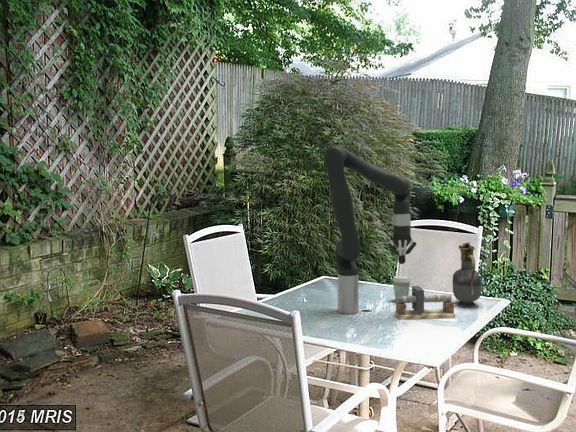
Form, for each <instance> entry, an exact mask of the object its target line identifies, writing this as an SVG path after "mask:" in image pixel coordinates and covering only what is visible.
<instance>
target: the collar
mask: <svg viewBox="0 0 576 432" xmlns="http://www.w3.org/2000/svg"><path fill="white" fill-rule="evenodd" d="M411 296H416V303H411V308H412V310H415V311H416V312H417V313H424V310H425V302H424V296H425V290H424V288H422V287H420V286H419V285H412V286H411Z"/></svg>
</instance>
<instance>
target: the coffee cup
mask: <svg viewBox="0 0 576 432" xmlns="http://www.w3.org/2000/svg"><path fill="white" fill-rule="evenodd" d="M392 282H393V290H394V291H393V292H394V299H395V300H394V301H395V303H396V302H398V296H410V295H409V293H410V285H411V278H410V276H408V275H394V276H393V278H392Z"/></svg>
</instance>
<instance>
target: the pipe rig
mask: <svg viewBox="0 0 576 432" xmlns="http://www.w3.org/2000/svg"><path fill="white" fill-rule="evenodd" d="M452 297H453V296H452V294H433V295H432V294H431V295H430V294H429V295H426V294H425V295H424V303H442V308H436V309H435V308H433V309H431V308H430V309H427V308H426V309H425V308H424V313H417V312H416V311H415V310H414V309H407V304H412V303H416V296H412V295H408V296H398V302H396V301H395V309H394V315H396V317H397V318H398V320H400V321H401V320H402V321H403V320H426V319H427V320H429V319H437V320H438V319H455V318H456V313H455V303H454V302H453V301H452Z"/></svg>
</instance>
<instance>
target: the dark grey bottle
mask: <svg viewBox="0 0 576 432" xmlns="http://www.w3.org/2000/svg"><path fill="white" fill-rule="evenodd" d="M470 243H471V241H469V242H463V243H462V244H461V245H458V247H457V248H458V250H460V263H461V265H460V266H461V267H460V269H457V270H456V271H455V272H454V273H453V274H452V294H453V296H454V298H455V299H456V300H458V302H457V303H458V305H459V306H461V307H474V306H475V305H476V304H475V301H477V300H479V299H480V298H481V295H482V279H481V276H480V273H479V272H478V271H477V270H476V259H475V257H474V251H475V249H476V247H475V246H473V245H471V244H470Z"/></svg>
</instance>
